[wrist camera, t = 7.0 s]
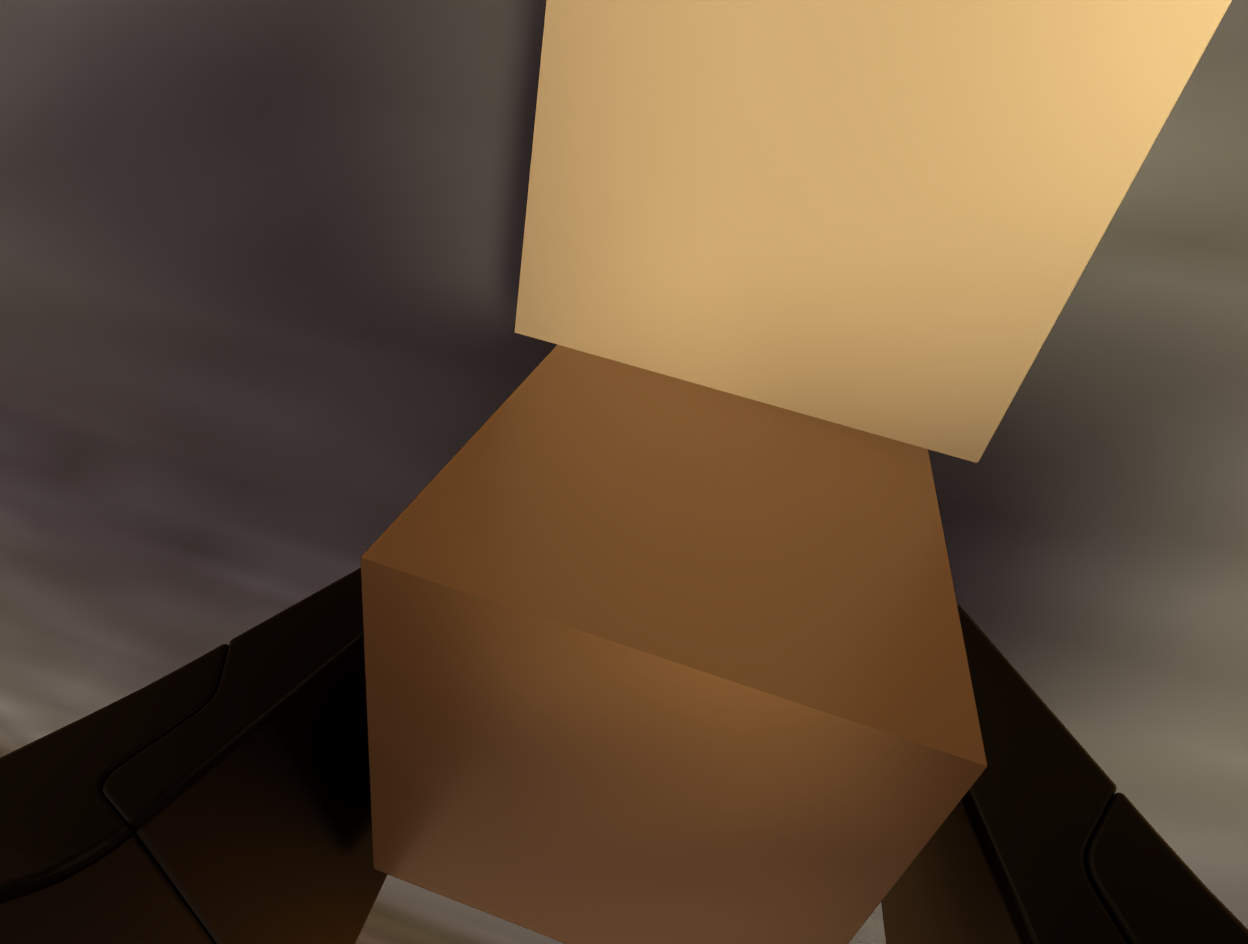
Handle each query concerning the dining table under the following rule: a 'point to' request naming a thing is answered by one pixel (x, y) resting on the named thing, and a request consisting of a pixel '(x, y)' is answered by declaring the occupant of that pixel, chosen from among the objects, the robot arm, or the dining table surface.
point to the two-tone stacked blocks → (742, 455)
